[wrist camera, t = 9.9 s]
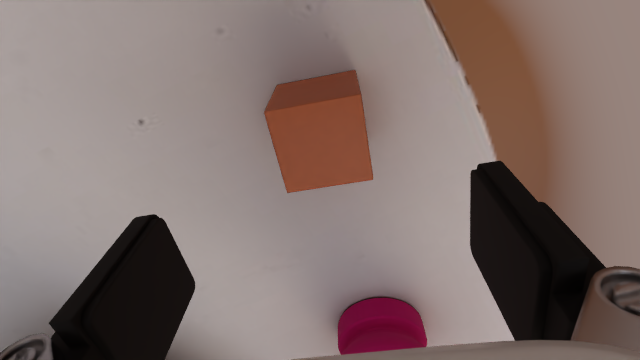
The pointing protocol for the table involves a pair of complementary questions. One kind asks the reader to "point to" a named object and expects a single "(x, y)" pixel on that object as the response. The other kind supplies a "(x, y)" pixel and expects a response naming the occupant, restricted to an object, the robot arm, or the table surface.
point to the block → (320, 132)
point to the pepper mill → (380, 327)
